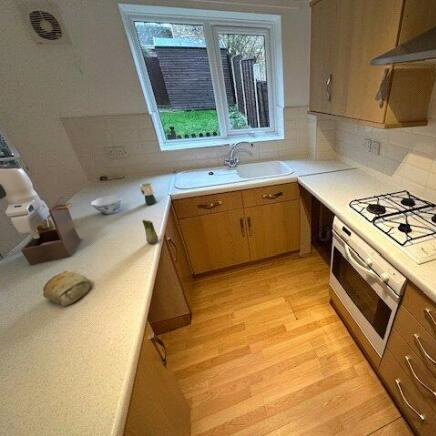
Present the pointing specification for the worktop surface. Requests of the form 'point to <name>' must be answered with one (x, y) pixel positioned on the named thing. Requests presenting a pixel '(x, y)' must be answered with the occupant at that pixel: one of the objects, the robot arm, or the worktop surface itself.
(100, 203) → the chinaware
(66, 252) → the chest
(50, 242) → the pink rectangular block
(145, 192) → the character mug
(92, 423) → the worktop surface
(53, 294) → the pastry
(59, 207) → the chest lid
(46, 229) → the condiment
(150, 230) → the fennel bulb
